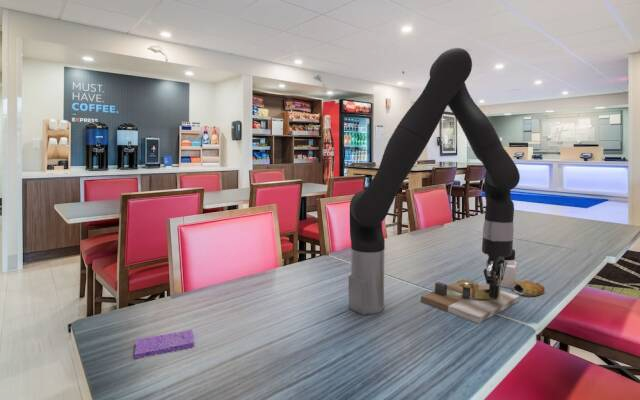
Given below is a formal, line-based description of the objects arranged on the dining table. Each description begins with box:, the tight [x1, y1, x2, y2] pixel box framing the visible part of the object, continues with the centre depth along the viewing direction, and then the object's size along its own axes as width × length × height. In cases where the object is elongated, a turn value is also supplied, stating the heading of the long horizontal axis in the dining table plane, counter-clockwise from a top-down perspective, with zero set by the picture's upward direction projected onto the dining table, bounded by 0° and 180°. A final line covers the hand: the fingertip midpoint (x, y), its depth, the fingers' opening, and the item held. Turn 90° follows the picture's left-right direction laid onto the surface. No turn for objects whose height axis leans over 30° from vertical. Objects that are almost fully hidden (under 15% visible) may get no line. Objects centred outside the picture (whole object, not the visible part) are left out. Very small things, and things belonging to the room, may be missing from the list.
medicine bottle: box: [499, 248, 518, 289], centre depth 122 cm, size 7×7×12 cm
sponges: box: [134, 329, 195, 359], centre depth 86 cm, size 7×13×2 cm, turn 112°
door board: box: [420, 280, 520, 324], centre depth 108 cm, size 22×18×5 cm
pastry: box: [510, 280, 546, 297], centre depth 115 cm, size 9×7×4 cm
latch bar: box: [459, 279, 502, 299], centre depth 107 cm, size 11×4×4 cm, turn 88°
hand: (493, 297), depth 104 cm, fingers closed
